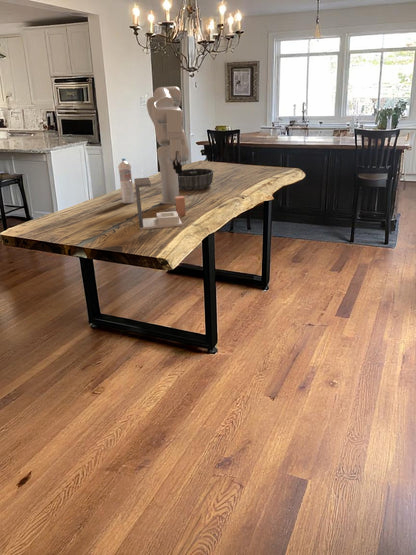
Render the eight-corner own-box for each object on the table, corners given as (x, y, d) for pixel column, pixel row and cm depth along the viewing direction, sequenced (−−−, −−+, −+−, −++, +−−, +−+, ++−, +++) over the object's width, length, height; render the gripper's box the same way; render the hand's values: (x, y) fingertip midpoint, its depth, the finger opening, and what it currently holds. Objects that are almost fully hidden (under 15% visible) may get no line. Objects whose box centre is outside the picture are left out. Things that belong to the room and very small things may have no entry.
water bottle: (123, 204, 264) (118, 160, 254) (122, 202, 270) (116, 158, 260) (135, 203, 266) (130, 159, 256) (133, 200, 272) (129, 157, 262)
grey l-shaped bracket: (138, 219, 232) (134, 178, 224) (152, 217, 233) (148, 177, 225) (139, 227, 218) (135, 184, 210) (154, 226, 219) (150, 183, 211)
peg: (176, 213, 242) (174, 196, 238) (184, 212, 243) (183, 195, 239) (177, 215, 238) (175, 198, 234) (185, 214, 239) (184, 197, 235)
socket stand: (138, 221, 232) (137, 213, 230) (178, 217, 235) (177, 209, 233) (140, 229, 218) (139, 221, 217) (182, 225, 221) (181, 217, 220)
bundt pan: (167, 192, 289) (165, 176, 285) (181, 183, 312) (180, 168, 308) (207, 193, 282) (206, 176, 278) (219, 183, 305) (218, 168, 301)
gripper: (166, 134, 231) (168, 168, 238) (169, 138, 216) (172, 175, 223) (180, 133, 232) (183, 167, 239) (185, 137, 217) (187, 174, 224)
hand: (177, 171), depth 231 cm, fingers open, 9 cm apart
